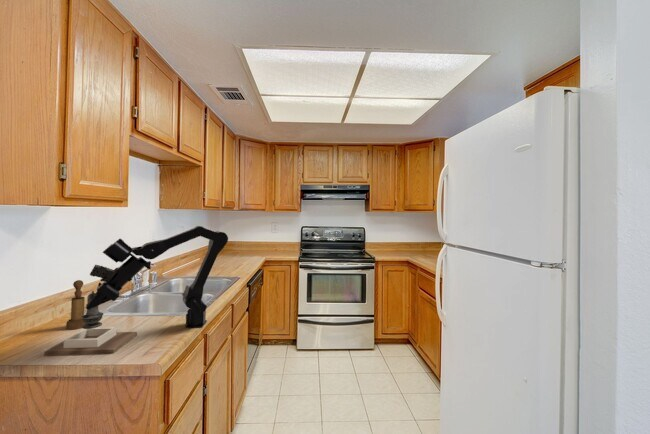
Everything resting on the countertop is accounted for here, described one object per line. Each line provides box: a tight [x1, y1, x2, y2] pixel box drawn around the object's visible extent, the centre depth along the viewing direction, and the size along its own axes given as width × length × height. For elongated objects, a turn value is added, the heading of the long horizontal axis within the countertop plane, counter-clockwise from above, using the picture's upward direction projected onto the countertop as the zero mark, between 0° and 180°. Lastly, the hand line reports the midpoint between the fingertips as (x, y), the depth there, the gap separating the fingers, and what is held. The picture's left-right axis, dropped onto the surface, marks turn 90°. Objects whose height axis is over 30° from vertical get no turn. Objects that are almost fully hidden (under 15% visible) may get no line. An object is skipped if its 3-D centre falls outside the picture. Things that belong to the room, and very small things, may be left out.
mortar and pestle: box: [65, 279, 86, 330], centre depth 112 cm, size 7×6×18 cm
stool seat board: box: [43, 327, 138, 356], centre depth 97 cm, size 20×14×4 cm
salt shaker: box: [81, 290, 104, 330], centre depth 97 cm, size 6×6×12 cm
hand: (87, 307), depth 96 cm, fingers closed on salt shaker, 4 cm apart
